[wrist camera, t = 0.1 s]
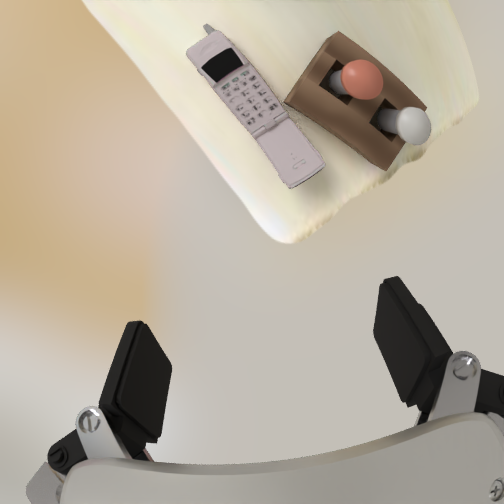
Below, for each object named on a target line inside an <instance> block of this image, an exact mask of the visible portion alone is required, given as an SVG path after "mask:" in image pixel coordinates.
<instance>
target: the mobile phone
mask: <svg viewBox="0 0 504 504" xmlns="http://www.w3.org/2000/svg"><path fill="white" fill-rule="evenodd" d="M203 27H204V29H205V30H206V32H207V33H208V36H206V37H205V38H203V39H202V40H200V41H199V42H197V43H196V44H194V45H193V46H192V47H190V48H189V49H187V51H186V55H187V57H188V58H189V59H190V61H191V62H192V63H193V64H194V65H195V67H196V68H197V71H198V72H199V73H200V74H201V75H202V76H204V77H205V79H206V80H207V81H208V82H209V84H210V86H211V87H212V88H213V90H214V91H215V92H216V93H217V94H218V96H219V97H220V98H221V99H222V100H223V102H224V103H225V104H226V105H227V106H228V108H229V109H230V110H231V111H232V113H233V114H234V115H235V116H236V117H237V119H238V120H239V121H240V122H241V124H242V125H244V126H245V128H246V129H247V130H248V131H249V132H250V134H251V135H252V136H253V138H254V139H255V140H256V141H257V143H258V144H259V145H260V147H261V148H262V150H263V151H264V153H265V154H266V156H267V157H268V159H269V160H270V161H271V163H272V164H273V166H274V167H275V169H276V170H277V172H278V173H279V174H278V176H279V177H280V179H281V180H282V182H283V183H286V185H287V186H288V188H289V189H291V188H294V187H296V186H298V185H299V184H301V183H303V182H304V181H306V180H307V179H309V178H311V177H312V176H314V175H315V174H316V173H318V172H319V171H320V170H322V169H323V168H324V166H325V163H324V161H323V160H322V156H321V155H320V154H319V152H318V151H317V150H315V148H314V147H313V146H312V144H311V143H310V142H309V141H308V139H307V138H306V137H305V136H304V134H303V133H302V132H301V131H300V129H299V128H298V127H297V126H296V125H294V124H295V123H294V122H293V121H292V120H290V119H289V118H290V117H289V115H288V113H287V112H286V111H285V110H284V109H283V107H282V106H281V104H280V103H279V101H278V99H277V98H276V96H275V95H274V94H273V92H272V91H271V89H270V88H269V87H268V85H267V84H266V83H265V81H264V80H263V79H262V77H261V76H260V75H259V73H258V72H257V71H256V69H255V68H254V67H253V66H252V64H251V63H250V62H249V61H248V60H247V59H246V58H245V56H244V55H243V54H242V53H241V52H240V51H239V50H238V49H237V48H236V47H235V45H234V44H233V43H232V42H231V41H230V40H229V39H227V37H226V36H225V35H224V34H223V33H222V32H220V31H215V30H214V29H213V28H212V27H211V26H209V25H208V24H205V25H204V26H203ZM293 123H294V124H293Z"/></svg>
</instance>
